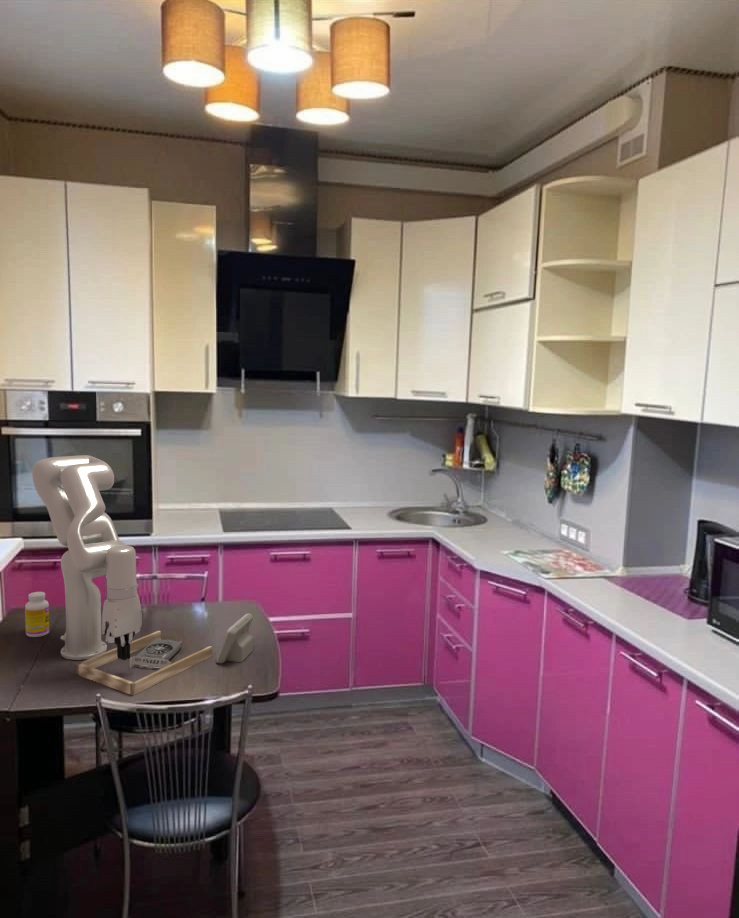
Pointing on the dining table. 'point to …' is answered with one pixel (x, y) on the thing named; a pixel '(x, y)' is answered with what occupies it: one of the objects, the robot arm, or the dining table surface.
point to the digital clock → (237, 641)
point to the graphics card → (156, 654)
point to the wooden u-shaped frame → (132, 688)
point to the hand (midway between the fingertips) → (123, 658)
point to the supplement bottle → (37, 615)
